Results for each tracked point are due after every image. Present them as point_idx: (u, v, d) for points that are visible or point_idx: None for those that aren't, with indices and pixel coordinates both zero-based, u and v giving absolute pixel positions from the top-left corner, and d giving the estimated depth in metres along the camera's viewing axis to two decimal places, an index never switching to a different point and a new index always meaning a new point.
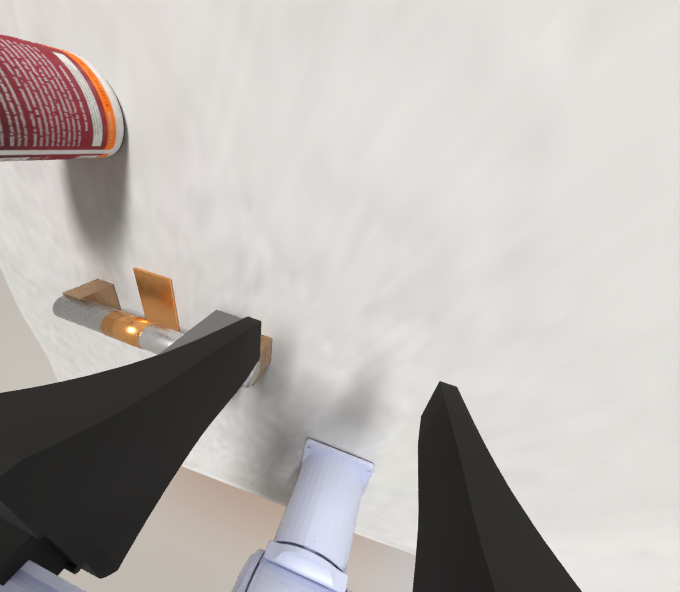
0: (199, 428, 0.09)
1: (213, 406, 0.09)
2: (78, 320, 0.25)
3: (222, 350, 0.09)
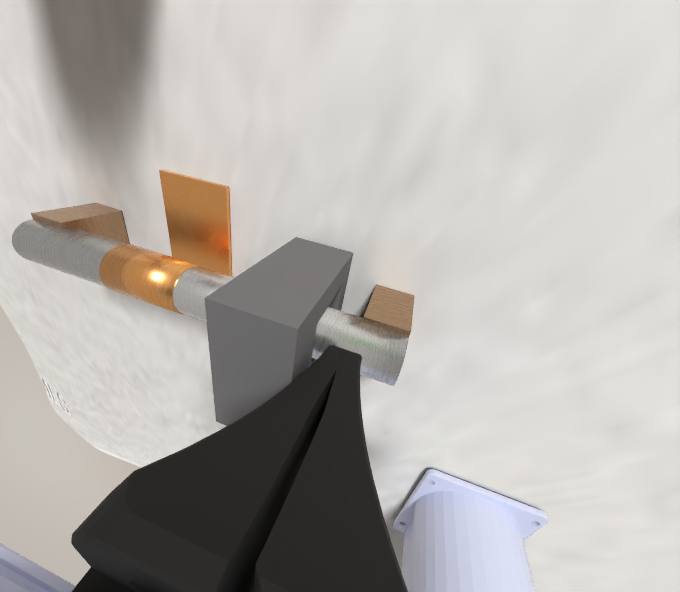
0: (298, 470, 0.08)
1: (309, 444, 0.09)
2: (58, 259, 0.13)
3: (326, 388, 0.08)
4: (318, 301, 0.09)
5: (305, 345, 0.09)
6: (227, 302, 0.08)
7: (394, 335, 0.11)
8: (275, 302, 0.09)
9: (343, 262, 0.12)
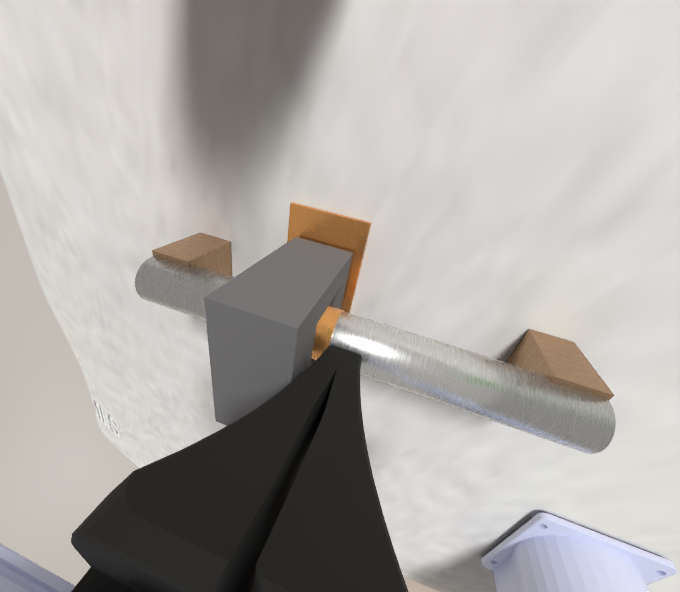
0: (298, 470, 0.08)
1: (309, 444, 0.09)
2: (190, 303, 0.12)
3: (326, 388, 0.08)
4: (318, 301, 0.09)
5: (305, 345, 0.09)
6: (227, 301, 0.08)
7: (593, 399, 0.10)
8: (275, 302, 0.08)
9: (343, 262, 0.12)
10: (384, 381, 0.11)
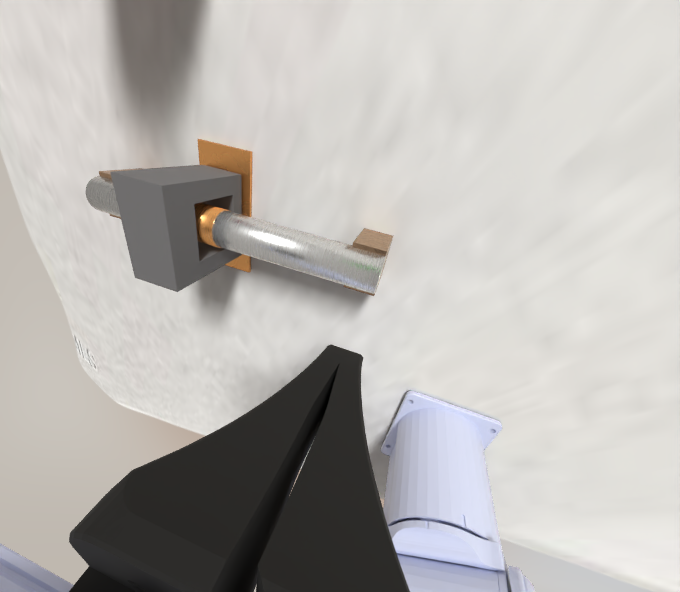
0: (297, 469, 0.08)
1: (308, 444, 0.09)
2: None
3: (325, 387, 0.08)
4: (188, 183, 0.15)
5: (180, 210, 0.15)
6: (124, 174, 0.14)
7: (375, 254, 0.15)
8: (156, 178, 0.14)
9: (227, 175, 0.17)
10: (250, 253, 0.17)
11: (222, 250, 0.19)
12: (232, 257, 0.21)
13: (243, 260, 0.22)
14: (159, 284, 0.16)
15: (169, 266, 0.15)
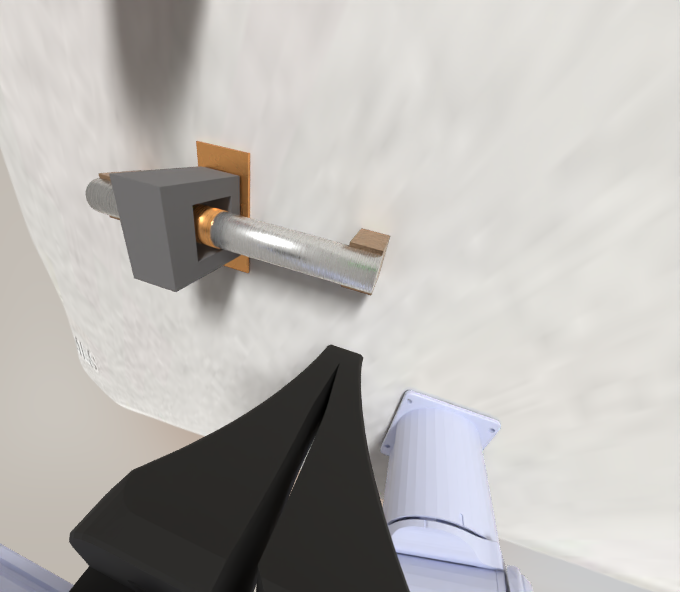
0: (297, 469, 0.08)
1: (308, 444, 0.09)
2: None
3: (325, 387, 0.08)
4: (186, 184, 0.15)
5: (178, 211, 0.15)
6: (122, 175, 0.14)
7: (371, 254, 0.16)
8: (154, 180, 0.14)
9: (225, 177, 0.18)
10: (248, 253, 0.17)
11: (221, 251, 0.19)
12: (231, 258, 0.21)
13: (242, 260, 0.22)
14: (158, 284, 0.16)
15: (167, 266, 0.15)
